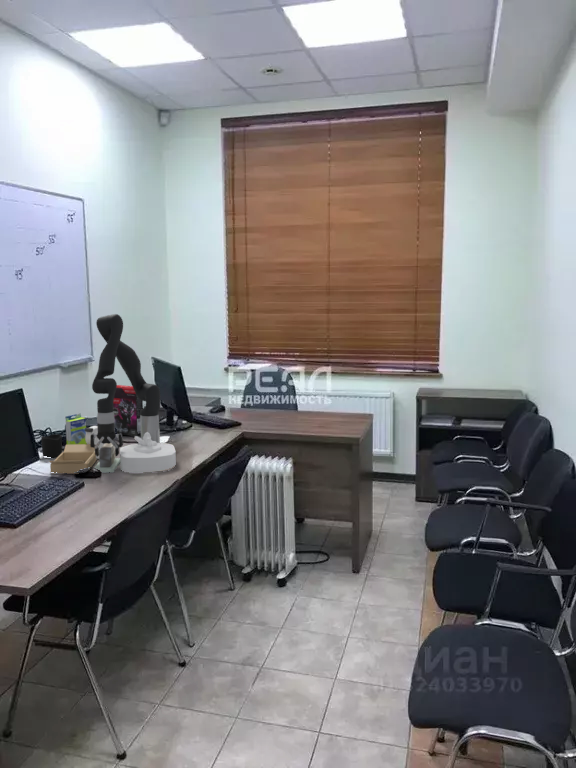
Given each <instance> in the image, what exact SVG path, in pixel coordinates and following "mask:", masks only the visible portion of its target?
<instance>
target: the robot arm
mask: <svg viewBox="0 0 576 768" xmlns="http://www.w3.org/2000/svg"><path fill="white" fill-rule="evenodd" d="M95 324H96V328H97V330H98V333H99V334H100V336H101V337H102V338H103V340H104V341H105V343H106V345H105V346H104V348H103V349H102V352H101V353H100V356H99V359H98V369H97V372H96V374H95V377H94V379H93V381H92V384H91V385H92V386H91V389H92V391H93V392H94V394H98V395H99V394H100V395H101V394H102V395H105V394H107V397H105V398H99V399H98V400H97V402H96V405H97V408H96V410H97V415H96V419H97V420H96V423H97V424H96V426H98V434H91V440H90V447H93V448H95V455H96V456H99V448H98V446H99V445H100V444H101V443H103V445H104V444H105V443H108V444H110V443H112V445H114V446H115V457H118V456H119V455H120V448H121V447H124V446H123V445H124V440H123V439H124V438H123V435H122V433H120V434H115V422H114V410H113V401H114V395H115V391H116V388H117V385H118V384H117V381H116V380H115V379H114V378H112V377H108V376H112V375H114V373H115V367H116V365H115V364H116V359H117V361H118V364H119V365H120V366H121V368H122V370H123V371H124V373H125V375H126V377H127V378H128V380H129V382H130V384H131V386H133V388H134V391H135V393H136V395H137V397H138V398H139V399H140V400H142V401H143V402H145V406H144V407H143V409H141V410H140V424H141V435H140V438H141V439H142V440H143V436H144V434H145V433H146V432H148V433H150V436H151V440H152V441H156V442H157V443H161V437H160V435H161V433H160V431H161V430H160V421H159V419H160V418H159V414H160V413H159V412H160V409H161V390H160V387H159V386H158V385H157V384H154V383H147V382H146V380H145V379H144V377H143V375H142V373H141V372H142V371H141V368H142V366H141V365H142V363H141V361H140V358H139V356H138V355H137V352H136V351H135V350H134V349H133V348H132V347H131V346H129V345H128V344H126V343H125V342H123V341H122V340H121V338H122V334H123V330H124V320H123V319H122V316H120V315H119V314H117V313H114V314H108V315H104V316H100V317H99V318H97V319H96V322H95ZM107 377H108V378H107ZM96 437H97V438H98V439H99V442H98V443H97V444H96V445H95V444H94V439H95V438H96ZM116 438H117V439H118V442H117V440H116Z"/></svg>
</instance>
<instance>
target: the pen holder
mask: <svg viewBox="0 0 576 768" xmlns="http://www.w3.org/2000/svg"><path fill="white" fill-rule="evenodd" d="M40 440H41V441H40V442H41V449H42V457H43V456H47V457H51V458H53V459H56V458H57V457H58V456H59V455H60V454H61V453H62V452H63V435H62V434H57V433H54V434H53V433H52V434H50V435H48V436H44V435H43V436H41V437H40Z"/></svg>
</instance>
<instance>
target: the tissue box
mask: <svg viewBox="0 0 576 768" xmlns="http://www.w3.org/2000/svg"><path fill="white" fill-rule="evenodd" d="M133 437H134V440H135V441H136V442H137V443H132V444H128V445H125V446H122V447H119V458H120V463H119V467H120V471H121V470H122V472H123V471H124V473H126V472H129V473H128V474H144V473H143V472H151V471H160V470H165V469H169V468H172V467H173V466H175V465H176V466H177V461H176V460H177V458H176V457H177V456H176V455H177V454H176V453H177V451H176V449H175V446H174V445H173V444H171V443H165V442H160V443H157V442H156V441H152V440H151V436H150V433H148V432H146V433H145V434H144V436H143V440H142V439H141V436H133Z"/></svg>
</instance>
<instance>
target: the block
mask: <svg viewBox="0 0 576 768" xmlns="http://www.w3.org/2000/svg"><path fill="white" fill-rule="evenodd" d="M99 458H100V459H99V461H100V467H111V465H112V464H113V462H114V461H115V458H116V456H115V446H114V445H112V443H110V444H108V443H105V444H103V446H102V447H101V449H100V450H99Z"/></svg>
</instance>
